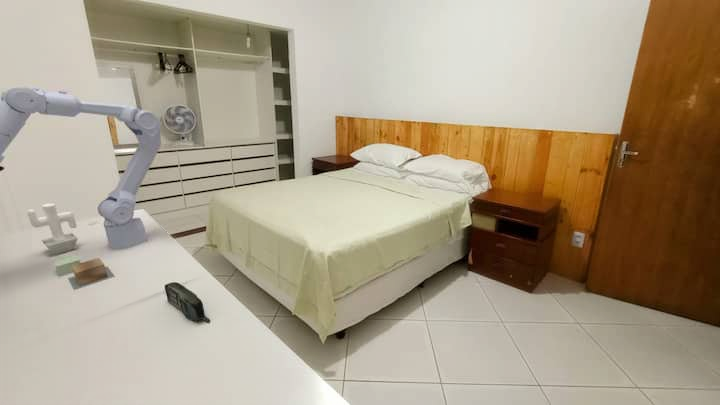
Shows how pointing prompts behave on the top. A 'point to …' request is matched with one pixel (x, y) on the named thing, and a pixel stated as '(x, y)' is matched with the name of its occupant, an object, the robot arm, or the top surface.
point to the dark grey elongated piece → (185, 301)
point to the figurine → (55, 228)
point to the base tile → (76, 285)
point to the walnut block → (89, 271)
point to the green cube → (66, 265)
